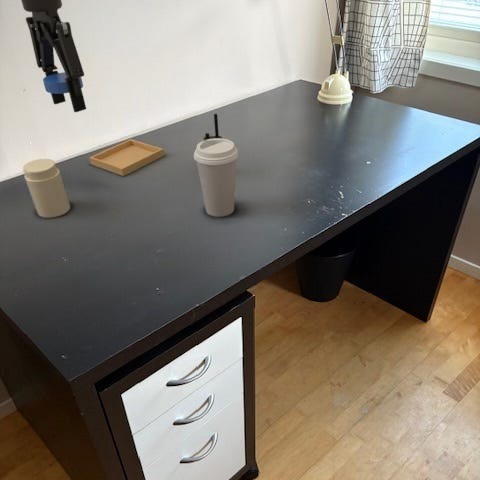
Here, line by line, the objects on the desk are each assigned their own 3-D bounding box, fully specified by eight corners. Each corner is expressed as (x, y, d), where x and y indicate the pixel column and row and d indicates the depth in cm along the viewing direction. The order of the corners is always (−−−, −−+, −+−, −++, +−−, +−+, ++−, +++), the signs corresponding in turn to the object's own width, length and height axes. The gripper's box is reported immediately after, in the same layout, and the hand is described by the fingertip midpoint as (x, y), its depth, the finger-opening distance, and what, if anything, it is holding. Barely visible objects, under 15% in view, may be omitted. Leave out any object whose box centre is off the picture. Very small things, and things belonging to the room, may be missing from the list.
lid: (90, 86, 106) (87, 76, 104) (58, 96, 102) (55, 85, 100) (71, 80, 110) (68, 70, 109) (39, 89, 106) (36, 78, 104)
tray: (91, 164, 131) (89, 157, 130) (132, 145, 140) (130, 139, 138) (123, 176, 125) (121, 168, 123) (164, 155, 133) (163, 148, 132)
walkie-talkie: (206, 176, 123) (200, 116, 113) (206, 170, 125) (201, 112, 115) (224, 176, 122) (221, 116, 112) (225, 170, 125) (221, 111, 115)
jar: (30, 211, 112) (14, 167, 105) (57, 198, 117) (43, 155, 109) (50, 221, 109) (34, 175, 101) (76, 207, 113) (63, 162, 106)
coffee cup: (233, 196, 114) (230, 134, 104) (246, 215, 107) (244, 150, 97) (194, 204, 112) (187, 141, 102) (205, 223, 105) (199, 158, 95)
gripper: (83, -14, 90) (109, 111, 105) (29, -21, 101) (60, 93, 116) (47, -8, 86) (80, 121, 101) (-5, -16, 97) (32, 101, 112)
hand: (69, 106), depth 109 cm, fingers closed on lid, 8 cm apart
